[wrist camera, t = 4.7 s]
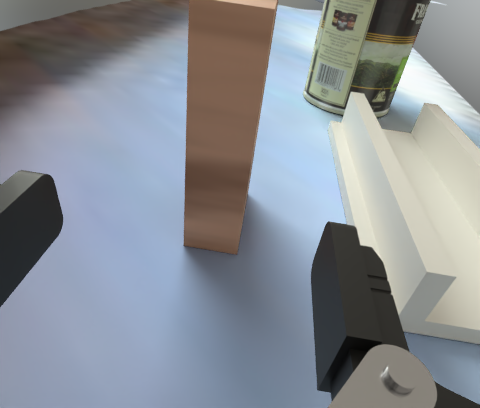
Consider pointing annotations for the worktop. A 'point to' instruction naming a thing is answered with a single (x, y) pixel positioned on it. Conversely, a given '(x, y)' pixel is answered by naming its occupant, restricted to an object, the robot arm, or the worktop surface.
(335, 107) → the coffee can
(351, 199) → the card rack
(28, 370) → the worktop surface
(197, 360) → the worktop surface
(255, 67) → the wooden card
